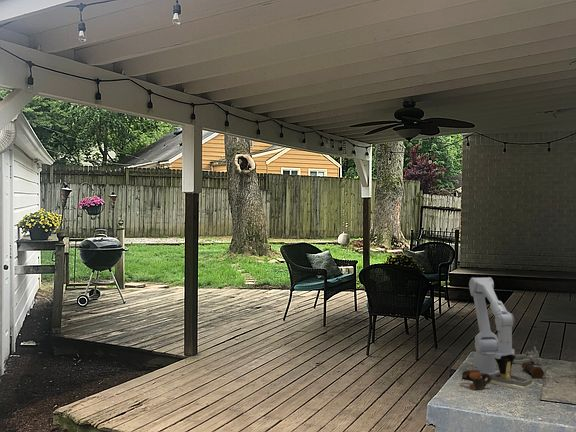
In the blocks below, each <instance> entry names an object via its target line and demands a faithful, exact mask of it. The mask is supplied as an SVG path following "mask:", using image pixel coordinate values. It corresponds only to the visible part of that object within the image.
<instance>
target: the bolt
mask: <svg viewBox="0 0 576 432" xmlns="http://www.w3.org/2000/svg"><path fill="white" fill-rule="evenodd" d="M521 368H522V369H523V371H524V372H525V373H528V374H530V375H531V377H532V378H533V379H542V378H543V377H544V376H545V372H544V370H543V368H542V367H541V366H534V363H529V362H522V364H521Z"/></svg>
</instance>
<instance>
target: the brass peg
mask: <svg viewBox="0 0 576 432" xmlns="http://www.w3.org/2000/svg"><path fill="white" fill-rule="evenodd" d="M511 371H512V367H510V361H508V363H507V367H506V374H501V378H504V379H508V380H510V379H511V375H512V374H511Z"/></svg>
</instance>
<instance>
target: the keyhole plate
mask: <svg viewBox="0 0 576 432" xmlns="http://www.w3.org/2000/svg"><path fill="white" fill-rule="evenodd" d="M490 377H491V378H492V379H491V381H490V383H489V384H493V385H494V384H495V385H498V386H502V387H503V386H504V387H508V388H513V389H517V390H521V391H524V390H525V389H527V388H529V387H530V388H531V386H534V385H535V382H534V381H533V379H532V378H531V379H530V378H526V377H521V376H519V375H515V374H511V379H510V380H508V379H504V378H501V373H500V372H498V373H496V374H493V375H490Z"/></svg>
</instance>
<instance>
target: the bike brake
mask: <svg viewBox="0 0 576 432" xmlns="http://www.w3.org/2000/svg"><path fill="white" fill-rule="evenodd" d="M525 351H526V352H525V354H524V353H523V354H514V355H515V358H523V359H514V361H513V363H512V364H519V363H532V364H535V362H537V363H538V364H540V363H541V362H542V357H540V355H539V351H538V350H537V348H536V346H533V349H532V347H526V348H525Z"/></svg>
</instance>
